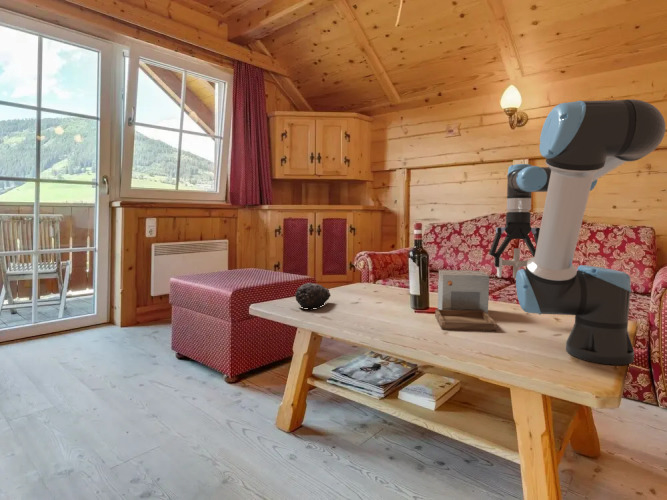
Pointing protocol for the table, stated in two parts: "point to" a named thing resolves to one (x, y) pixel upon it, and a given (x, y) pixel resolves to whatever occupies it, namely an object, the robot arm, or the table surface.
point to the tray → (465, 320)
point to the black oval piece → (312, 295)
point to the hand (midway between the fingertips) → (515, 277)
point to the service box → (463, 290)
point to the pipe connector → (515, 262)
